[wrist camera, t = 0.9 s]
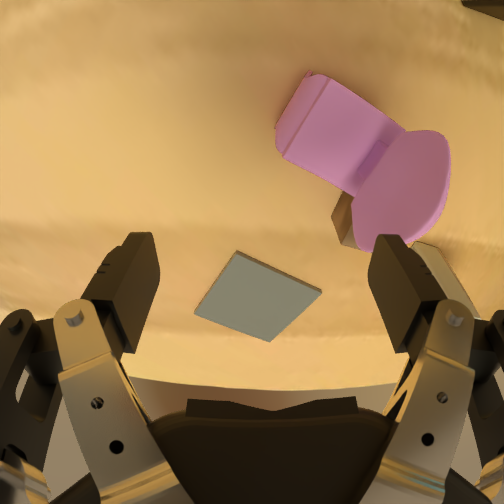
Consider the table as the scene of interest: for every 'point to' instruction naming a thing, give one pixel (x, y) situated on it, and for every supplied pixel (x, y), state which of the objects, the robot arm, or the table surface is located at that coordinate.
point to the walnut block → (344, 221)
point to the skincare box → (444, 275)
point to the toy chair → (366, 159)
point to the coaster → (255, 298)
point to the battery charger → (487, 7)
